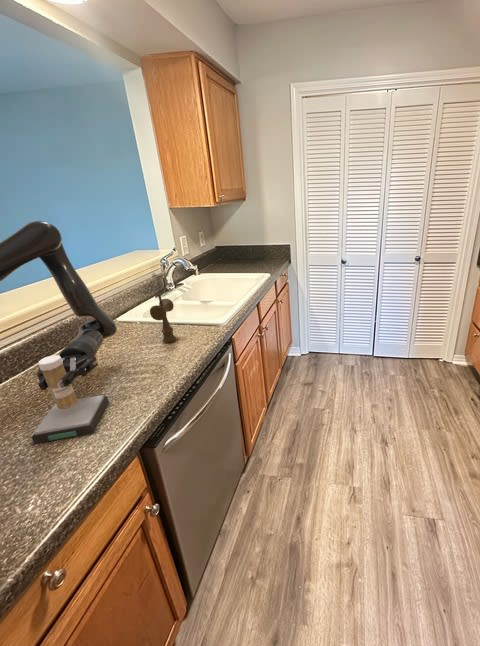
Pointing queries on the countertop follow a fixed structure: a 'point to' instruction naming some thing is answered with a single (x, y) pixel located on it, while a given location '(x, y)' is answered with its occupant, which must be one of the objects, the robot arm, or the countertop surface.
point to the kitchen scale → (71, 420)
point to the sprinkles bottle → (57, 381)
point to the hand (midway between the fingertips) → (53, 385)
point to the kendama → (164, 317)
